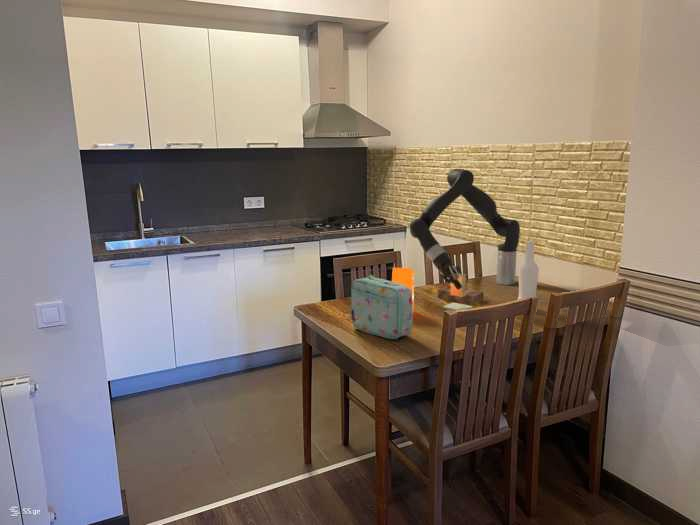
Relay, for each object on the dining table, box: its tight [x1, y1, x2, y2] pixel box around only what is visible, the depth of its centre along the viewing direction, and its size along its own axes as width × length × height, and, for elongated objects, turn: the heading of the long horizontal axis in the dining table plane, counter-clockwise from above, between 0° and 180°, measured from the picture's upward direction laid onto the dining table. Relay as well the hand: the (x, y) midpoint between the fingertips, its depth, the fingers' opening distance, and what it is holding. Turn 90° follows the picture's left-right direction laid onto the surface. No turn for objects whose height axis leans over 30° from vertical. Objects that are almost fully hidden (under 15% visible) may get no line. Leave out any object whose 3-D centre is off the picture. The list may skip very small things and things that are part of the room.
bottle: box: [517, 240, 539, 300], centre depth 212 cm, size 8×8×30 cm
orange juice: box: [391, 267, 415, 312], centre depth 212 cm, size 8×9×20 cm
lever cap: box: [450, 273, 467, 297], centre depth 217 cm, size 6×3×10 cm, turn 47°
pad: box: [442, 301, 474, 311], centre depth 220 cm, size 10×8×1 cm
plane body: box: [437, 282, 484, 306], centre depth 232 cm, size 18×10×6 cm, turn 47°
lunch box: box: [349, 275, 414, 340], centre depth 189 cm, size 27×10×21 cm, turn 45°
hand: (462, 287), depth 216 cm, fingers closed on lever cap, 3 cm apart
